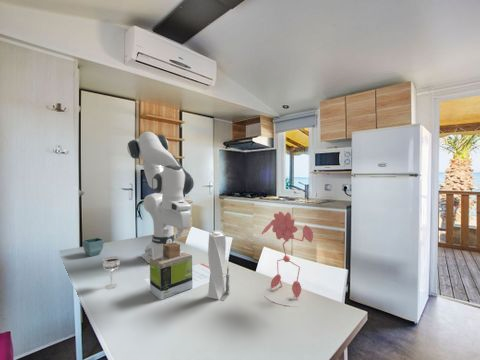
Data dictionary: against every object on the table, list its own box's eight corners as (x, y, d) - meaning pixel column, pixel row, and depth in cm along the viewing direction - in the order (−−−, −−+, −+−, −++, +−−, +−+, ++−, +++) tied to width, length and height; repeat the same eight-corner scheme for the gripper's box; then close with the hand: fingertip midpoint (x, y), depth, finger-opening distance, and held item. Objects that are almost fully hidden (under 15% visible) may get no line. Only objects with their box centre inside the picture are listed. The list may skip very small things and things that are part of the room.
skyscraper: (222, 303, 94) (223, 232, 94) (203, 299, 97) (204, 230, 96) (230, 293, 102) (231, 227, 102) (213, 290, 105) (213, 225, 104)
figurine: (268, 279, 116) (268, 206, 114) (319, 300, 98) (320, 213, 96) (246, 291, 105) (246, 210, 103) (298, 316, 87) (300, 219, 85)
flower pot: (97, 251, 153) (97, 237, 153) (104, 254, 148) (104, 239, 148) (82, 255, 146) (82, 240, 146) (88, 258, 141) (88, 242, 141)
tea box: (180, 281, 113) (181, 249, 112) (192, 288, 106) (193, 255, 105) (149, 291, 102) (149, 256, 102) (160, 300, 95) (160, 263, 95)
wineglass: (113, 281, 111) (113, 255, 111) (123, 284, 108) (123, 258, 108) (99, 287, 105) (99, 260, 105) (109, 291, 102) (109, 263, 102)
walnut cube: (163, 256, 103) (163, 244, 103) (173, 253, 107) (173, 242, 107) (169, 258, 100) (169, 246, 100) (179, 256, 104) (179, 244, 104)
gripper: (153, 201, 108) (152, 232, 108) (180, 207, 94) (179, 242, 95) (165, 200, 112) (165, 230, 113) (193, 205, 99) (192, 239, 99)
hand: (171, 235), depth 104 cm, fingers open, 8 cm apart
